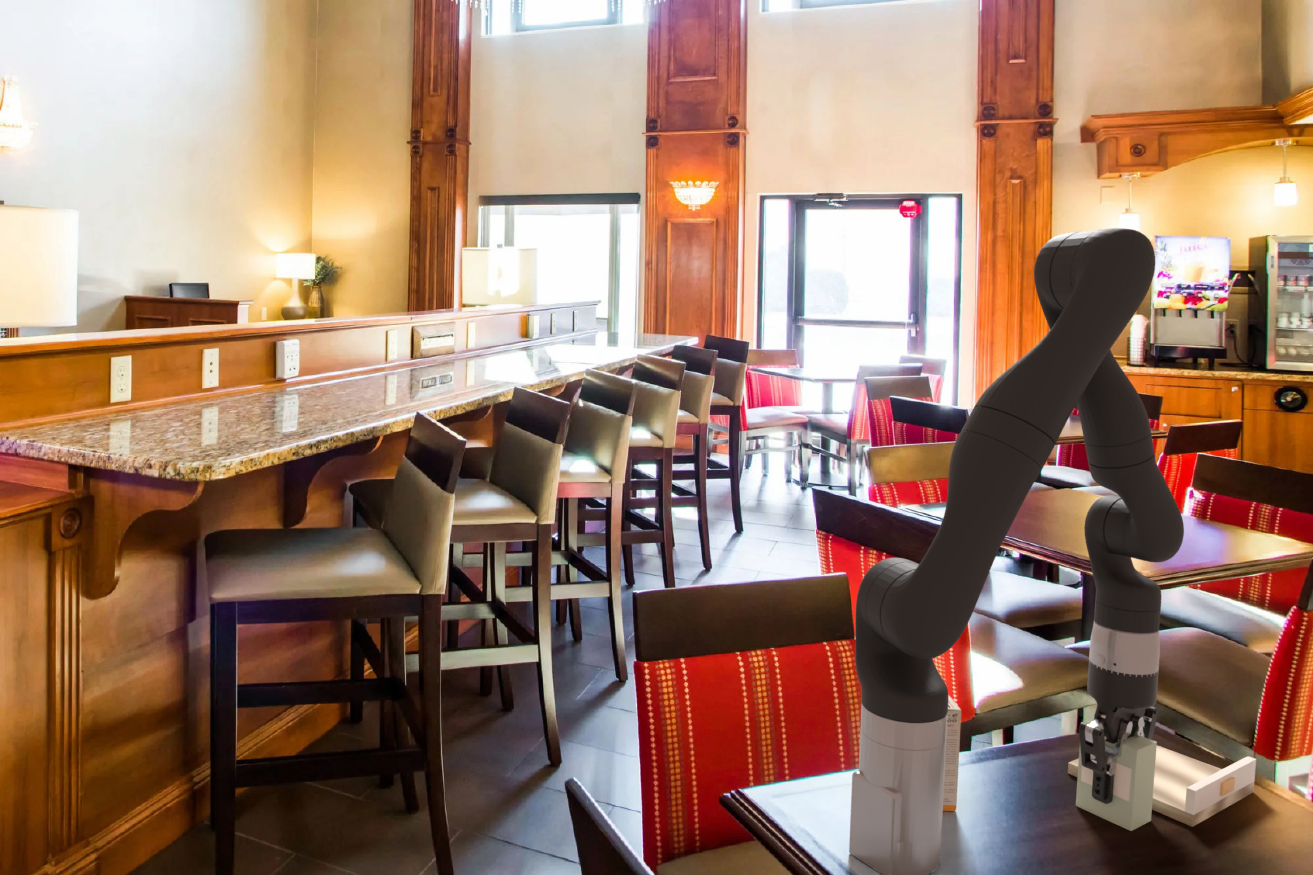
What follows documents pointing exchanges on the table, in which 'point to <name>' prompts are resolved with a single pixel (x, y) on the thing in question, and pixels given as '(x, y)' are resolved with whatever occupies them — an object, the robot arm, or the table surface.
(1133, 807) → the carton
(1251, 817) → the table surface
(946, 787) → the supplement box
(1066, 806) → the table surface
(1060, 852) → the table surface
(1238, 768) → the shelf board
